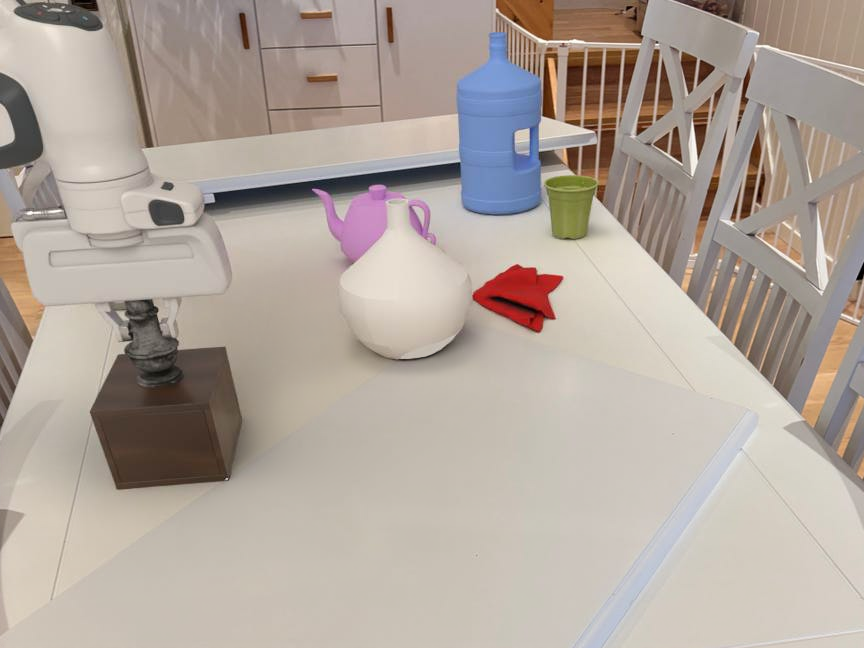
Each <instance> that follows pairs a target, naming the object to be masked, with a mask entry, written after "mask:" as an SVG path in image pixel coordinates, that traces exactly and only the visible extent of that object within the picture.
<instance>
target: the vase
mask: <svg viewBox="0 0 864 648" xmlns="http://www.w3.org/2000/svg"><path fill="white" fill-rule="evenodd" d="M386 211H387V221H388V222H387V229H386V230H385V232H384V234H383V235H382V237H381V238H380V239H379V240H378V241H377V242H376V243H375V244H374V245H373V246H372V247H371V248H370V249H369V250H368V251H367V252H366V253H365V254H364V255H363V256H362V257H360V258H359V259H358V260H357V261H356V262H355V263H352V264H351V265H350V267H348V268H347V269H346V270H345V271H344V272H343V273H342V275H341V276H340V278H339V282H338V286H337V298H338V299H337V300H338V304H339V311H340V313H341V314H342V316H343V319H344V321H346V324H347V325H348V327H349V329H350V331H351V332H352V333H353V335H354V336H355V338H357V339H358V340H359V341H360V342H361V343H362V344H363V345H364V346H365V347H366V348H368V349H369V350H371V351H372V352H375V353H376V354H378V355H380V356H381V357H384V358H387V359H391V360H398V359H399V358H401V356H403V355H405V354H406V353H408V352H409V351H411V350H413V349H415V348H418V347H422V346H425V345H429V344H434V343H437V342H440V341H443V340H445V339H447V338H449V337H451V336H453V335H455V334H456V333H457V332H458V331H459V330H460V329H461V330H462V329H463V328H464V325H465V322H466V320H467V316H468V314H469V311H470V308H471V305H472V302H473V298H472V295H473V283H472V280H471V277H470V274H469V272H468V269H467V267H466V266H465V265H464V264H462V263H461V262H459V261H458V260H457V259H455V258H454V257H452V256H451V255H449V254H447V253H446V252H445V251H443V250H441V249H440V248H438V247H437V246H436V245H435V246H434V245H433V244H432V243H430V242H431V241H430V240H428V239H427V240H426V239H425V238H423V237H422V236H421V235H419V234H418V233H417V232H416V230H415V229H414V228H413V227H412V226H411V222H410V214H409V200H408V198H406V199H402V198H397V199H390V200H388V201H386ZM461 330H460V331H461ZM398 361H399V360H398Z"/></svg>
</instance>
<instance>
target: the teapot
mask: <svg viewBox="0 0 864 648" xmlns="http://www.w3.org/2000/svg"><path fill="white" fill-rule="evenodd" d="M311 191H312V192H314V193H315V194H316V195H317V196H318V197H319V198H320V200H321V201H322V204H323V206H324V210H325V215H326V222H327V226H328V230H329V232H330V233H331V235H332V236H333V238H334V239H335V240H337V241H338V242H339V243H340V249H341V252H342V253H343V255H344V256H345V257H346V258H347V259H348V260H349V261H350V262H351V263H352V264H354V263H355V262H356V261H357V260H358V259H359V258H360V257H362V256H363V255H364V254H365V253H366V252H367V251H368V250H369V249H370V248H371V247H372V246H373V245H374V244H375V243H376V242H377V241H378V240H379V239H380V238H381V237H382V235H383V234H384V232H385V230H386V229H387V222H388V221H387V211H386V201H388V200H390V199H397V198H402V199H407V198H406V197H405V195H404V194H402V193H401V192H397V191H390V190H387V186H386V185H384V184H374V185H370V186H369V187H368V191H369V192H368V191H367V192H365V193H361V194H358V195H357V196H355V197H354V198H353V199H352V201H351V202H350V205H349V207H348V209H347V211H346V214H345V216H344V218H343V220H342V219H341V218H340V217H339V216H338V214H337V212H336V207H335V204H334V200H333V198H332V197H331V196H330V194H329V193H328V192H327V191H325V190H321V189H318V188H311ZM408 202H409V214H410V222H411V226H412V227H413V228H414V229H415V230H416V232H417V233H418V234H419V235H421V236H422V237H423V238H425V239H426V240H427V241H428V238H429V239H430V241H429V242H430V243H432V244H433V245H434V246H436V244H437V237H436V235H435V234H434V233H432V232H429V228H430V223H431V210H430V207H429V206H428V204H427V203H426V202H424V201H422V200H420V199H411V200H408ZM413 207H417V208H418V207H419V208H420V209H422V211H423V215H424V221H423V225H422V222H421V220H420V218H419V216H418V214H417V212H416V211H415V209H414V208H413Z"/></svg>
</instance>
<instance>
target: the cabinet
mask: <svg viewBox="0 0 864 648" xmlns="http://www.w3.org/2000/svg"><path fill="white" fill-rule="evenodd" d="M226 347H227V346H225V345H223V346H212V347H199V348H186V349H178V356H177V360H176V362H175V363H174V365H175V366H178V367H180V368H182V370H183V371H184V376H183V377H182V378H181V379H180V380H178V381H177V382H175V383H172V384H170V385H166V386H161V387H144V386H141V385H139V384H138V383H137V382H136V377H137V375H138V374H139V373H140V372H141V370H140V369H138V368H136V367H135V366H134V364H133V363H132V362H131V361H130V359H129V356H127V355H126V354H125V353H119V354H117V355H116V358H115V360H114V361H113V363H112V366H111V368H110V369H109V372H108V374H107V376H106V378H105V379H104V382H103V384H102V386H101V388H100V389H99V391H98V393H97V396H96V398H95V400H94V402H93V403H92V406H91V408H90V410H89V415H90V418H91V420H92V424H93V425H94V429H95V432H96V434H97V437H98V440H99V443H100V446H101V449H102V452H103V455H104V457H105V461H106V463H107V465H108V469H109V471H110V474H111V477H112V480H113V483H114V485H115V488H116V490H125V489H137V488H150V487H163V486H174V485H188V484H199V483H200V484H201V483H212V482H213V483H214V482H224V480H225V479H226V478H228V477H229V476H231V473H232V467H233V463H234V458H235V454H236V449H237V445H238V441H239V437H240V436H239V435H240V431H241V428H242V422H243V417H242V416H243V415H242V412H241V409H240V408H241V407H240V403H239V399H238V394H237V391H236V387H235V383H234V377H233V373H232V369H231V365H230V360H229V356H228V351H227V348H226ZM229 478H230V477H229Z"/></svg>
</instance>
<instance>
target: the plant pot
mask: <svg viewBox="0 0 864 648" xmlns="http://www.w3.org/2000/svg"><path fill="white" fill-rule="evenodd" d="M599 184H600V182H599V180H598V179H596V178H594V177H591V176H587V175H579V174H566V175H565V174H564V175H556V176H552V177H549V178H547V179H545V180H544V181H543V185H544V186H543V187H544V188H545V189H546V195H547V196H548V205H549V213H550V224H551V233H552V236H553V237H554V238H557V239H560V240H565V239H571V240H577V239H581V238H584V237H585V236H586V235H587V233H588V228H589V223H590V217H591V211H592V206H593V200H594V196H595V195H596V189H597V188H598V186H599Z"/></svg>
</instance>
